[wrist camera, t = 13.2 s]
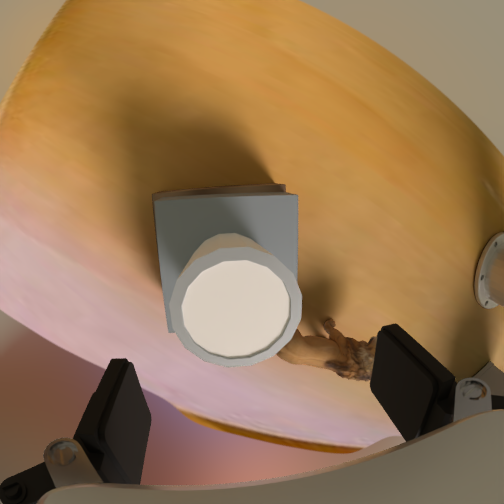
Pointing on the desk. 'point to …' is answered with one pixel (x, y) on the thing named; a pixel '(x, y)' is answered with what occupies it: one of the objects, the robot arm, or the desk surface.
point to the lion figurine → (332, 353)
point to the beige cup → (235, 302)
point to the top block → (223, 229)
